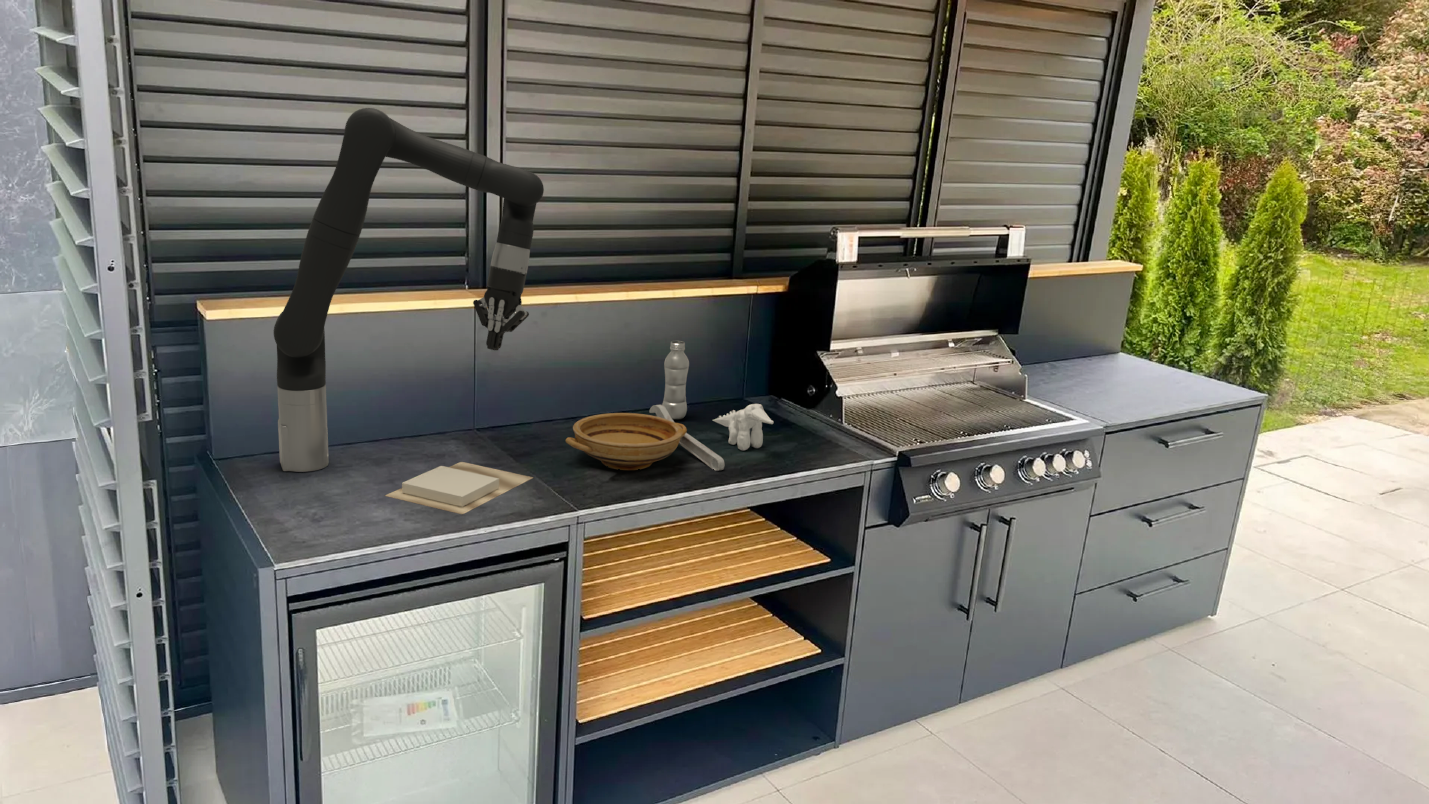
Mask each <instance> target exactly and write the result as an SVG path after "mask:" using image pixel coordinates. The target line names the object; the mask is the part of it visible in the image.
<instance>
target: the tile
mask: <svg viewBox="0 0 1429 804" xmlns="http://www.w3.org/2000/svg"><path fill="white" fill-rule="evenodd" d="M449 467H450V466H444V465H439V466H437V467H435V468H433V469H430V470H428V471H425V472H423V473H422V474H419V475H417V476H415V477H412V478H409V479H408V480H406V481H402V482H401V488H402V493H406V494H410V495H414V496H419V497H423V498H427V499H431V500H436V501H440V502H444V503H448V504H453V505H457V506H461V507H463V506H465V505H467V504H469V503H471V502H473V501H475V500H477V499H479V498H481V497H483V496H485V495H487V494H488V493H490V492H492V491H494V490H496V489H498V488H499V478H494V477H490V476H485V475H481V474H476V473H472V472H467V471H463V470H458V469H453V468H449Z"/></svg>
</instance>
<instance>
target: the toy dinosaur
mask: <svg viewBox="0 0 1429 804" xmlns="http://www.w3.org/2000/svg"><path fill="white" fill-rule="evenodd" d="M712 421H713V422H715V423H717V424H719V425H722V426H724V427H726V428H728V431H729V438H728V444H730V445H732V446H734V445H736V444H737V449H739V450H740V451H746V450H748V449H749V448H750V446H751V448H752V447H753V448H754V449H760V448H761V447H762V446H763V441H764V440H763V439H764V434H763V430H762V427H763V423H764V424H769V425H773V424H774V420H772V418H770V417H769V415H768V414H767V413H766V411H765V410H764V407H763V405H762V404H759V403H752V404H749V405H747V406H746V407H745V408H743V409H740V410H737V411H736V410H734V409H733V410H731V411H729V413H726V415H725V414H724V415H718V417H717V418H715V419H712Z"/></svg>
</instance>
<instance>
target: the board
mask: <svg viewBox="0 0 1429 804" xmlns="http://www.w3.org/2000/svg"><path fill="white" fill-rule="evenodd" d="M448 467H449V468H453V469H458V470H463V471H467V472H472V473H476V474H481V475H485V476H490V477H494V478H499V488H498V489H496V490H494V491H492V492H490V493H488V494H487V495H485V496H483V497H481V498H479V499H477V500H475V501H473V502H471V503H469V504H467V505H465V506H463V507H461V506H457V505H453V504H448V503H444V502H440V501H436V500H431V499H427V498H423V497H419V496H414V495H410V494H406V493H402V487H401V488H399V489H396V490H395V491H392V492H390V493H387V494H386V495H384V497H389V498H393V499H396V500H401V501H405V502H408V503H413V504H417V505H421V506H426V507H429V508H434V509H438V510H441V511H442V510H443V511H446V512H449V513H450V512H451V513H454V514H458V515H464V514H466V513H468V512H470V511H472V510H474V509H476V508H478V507H480V506H482V505H484V504H486V503H488V502H489V501H492V500H493V499H495V498H497V497H499V496H501V495H504V494H505V493H507V492H509V491H511V490H513V489H515V488H516V487H518V486H520V485H522V484H524V483H527V482H529V481H530V480H532V479H534V477H533V476H529V475H524V474H519V473H514V472H511V471H506V470H502V469H495V468H491V467H487V466H482V465H478V464H473V463H469V462H464V461H459V462H458V463H455V464H453V465H450V466H448Z"/></svg>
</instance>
